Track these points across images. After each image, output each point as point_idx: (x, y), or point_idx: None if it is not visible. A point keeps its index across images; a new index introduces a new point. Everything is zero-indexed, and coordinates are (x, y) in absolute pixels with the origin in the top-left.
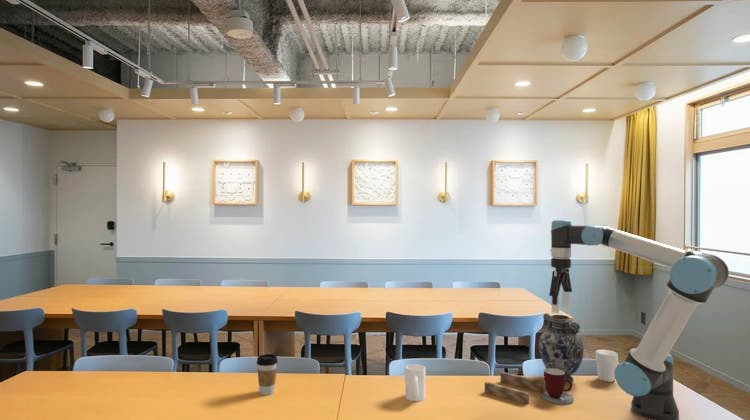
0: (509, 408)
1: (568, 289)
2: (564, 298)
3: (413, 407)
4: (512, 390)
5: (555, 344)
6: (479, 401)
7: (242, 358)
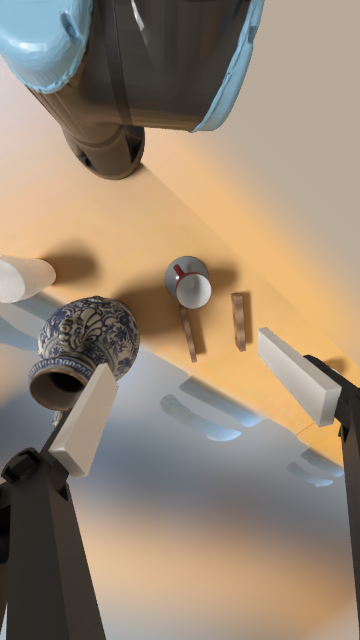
0: (263, 298)
1: (48, 481)
2: (100, 418)
3: (326, 357)
4: (243, 316)
5: (131, 338)
6: None
7: (317, 486)
